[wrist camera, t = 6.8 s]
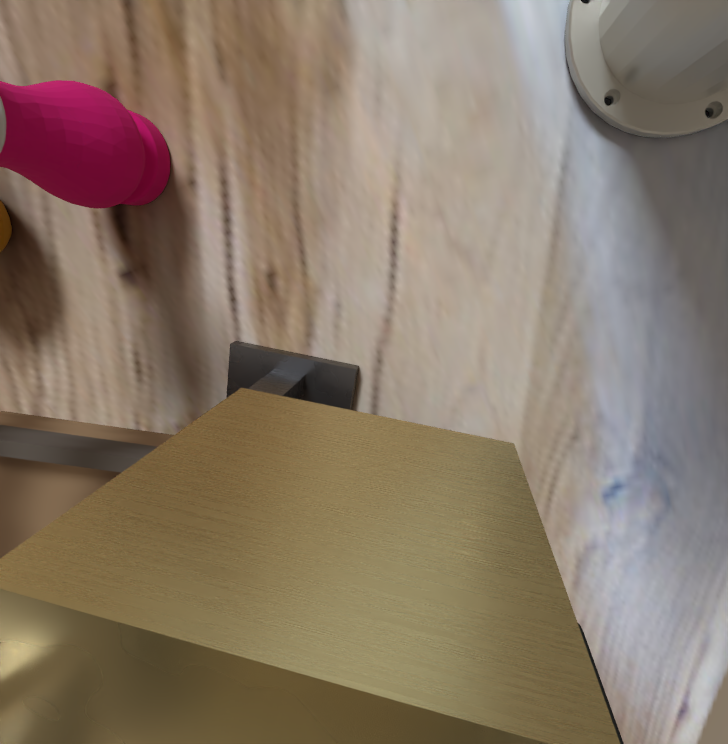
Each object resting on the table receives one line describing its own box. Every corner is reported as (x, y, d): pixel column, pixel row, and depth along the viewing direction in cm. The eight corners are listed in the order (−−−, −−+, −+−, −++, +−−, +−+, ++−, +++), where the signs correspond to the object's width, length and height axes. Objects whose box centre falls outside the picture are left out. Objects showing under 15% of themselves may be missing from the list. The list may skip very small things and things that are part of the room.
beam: (478, 462, 29) (505, 515, 24) (438, 614, 33) (453, 690, 28) (16, 396, 28) (-70, 437, 22) (30, 563, 32) (-40, 632, 26)
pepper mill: (186, 207, 33) (-165, 158, 14) (101, 217, 34) (-324, 183, 15) (167, 97, 31) (-270, -133, 12) (77, 112, 32) (-441, -74, 13)
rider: (513, 443, 9) (627, 766, 4) (454, 660, 11) (465, 1108, 5) (241, 387, 10) (-31, 580, 4) (227, 599, 12) (22, 935, 6)
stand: (358, 365, 34) (329, 408, 25) (324, 575, 40) (291, 668, 31) (236, 340, 35) (167, 372, 26) (221, 548, 41) (161, 630, 32)
